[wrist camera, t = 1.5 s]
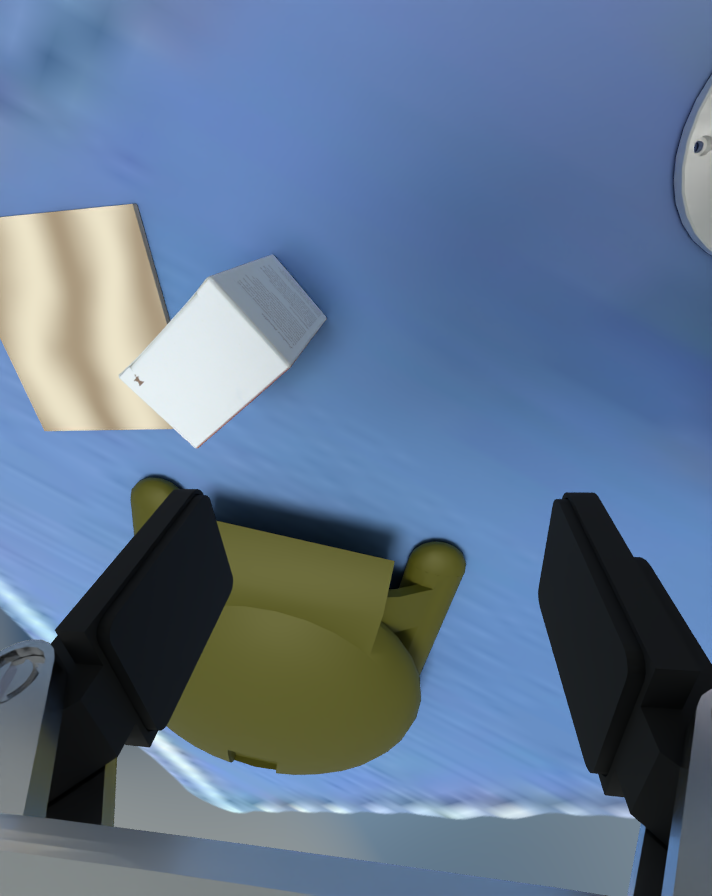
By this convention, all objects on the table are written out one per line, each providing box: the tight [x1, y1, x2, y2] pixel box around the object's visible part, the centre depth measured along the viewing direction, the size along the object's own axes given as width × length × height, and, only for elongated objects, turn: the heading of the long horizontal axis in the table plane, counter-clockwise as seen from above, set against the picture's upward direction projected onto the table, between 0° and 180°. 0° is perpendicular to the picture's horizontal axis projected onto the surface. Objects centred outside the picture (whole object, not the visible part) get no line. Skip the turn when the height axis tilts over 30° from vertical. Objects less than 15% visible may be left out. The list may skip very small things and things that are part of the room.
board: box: [0, 204, 174, 431], centre depth 33 cm, size 14×16×1 cm
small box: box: [119, 255, 327, 448], centre depth 27 cm, size 8×6×10 cm
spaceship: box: [131, 477, 466, 775], centre depth 44 cm, size 35×31×10 cm
